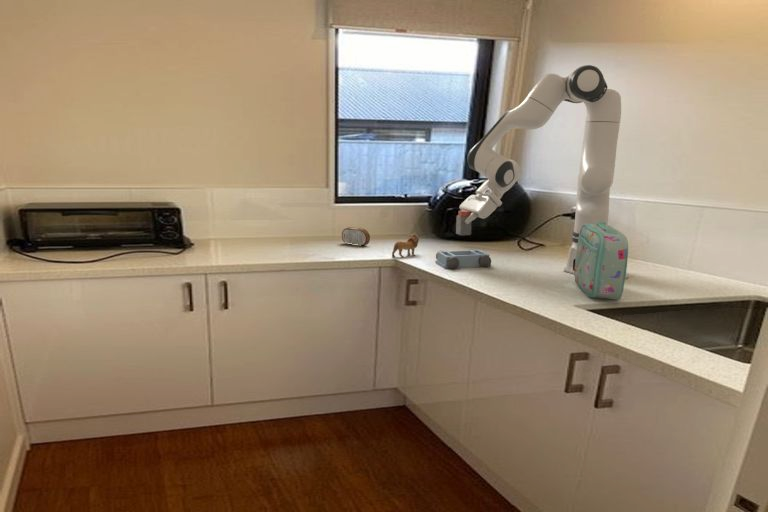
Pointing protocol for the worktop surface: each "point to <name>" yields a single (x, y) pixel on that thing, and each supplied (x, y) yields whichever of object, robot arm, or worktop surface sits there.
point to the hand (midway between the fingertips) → (462, 221)
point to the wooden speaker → (356, 236)
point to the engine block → (463, 223)
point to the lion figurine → (406, 245)
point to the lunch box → (601, 261)
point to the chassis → (463, 259)
